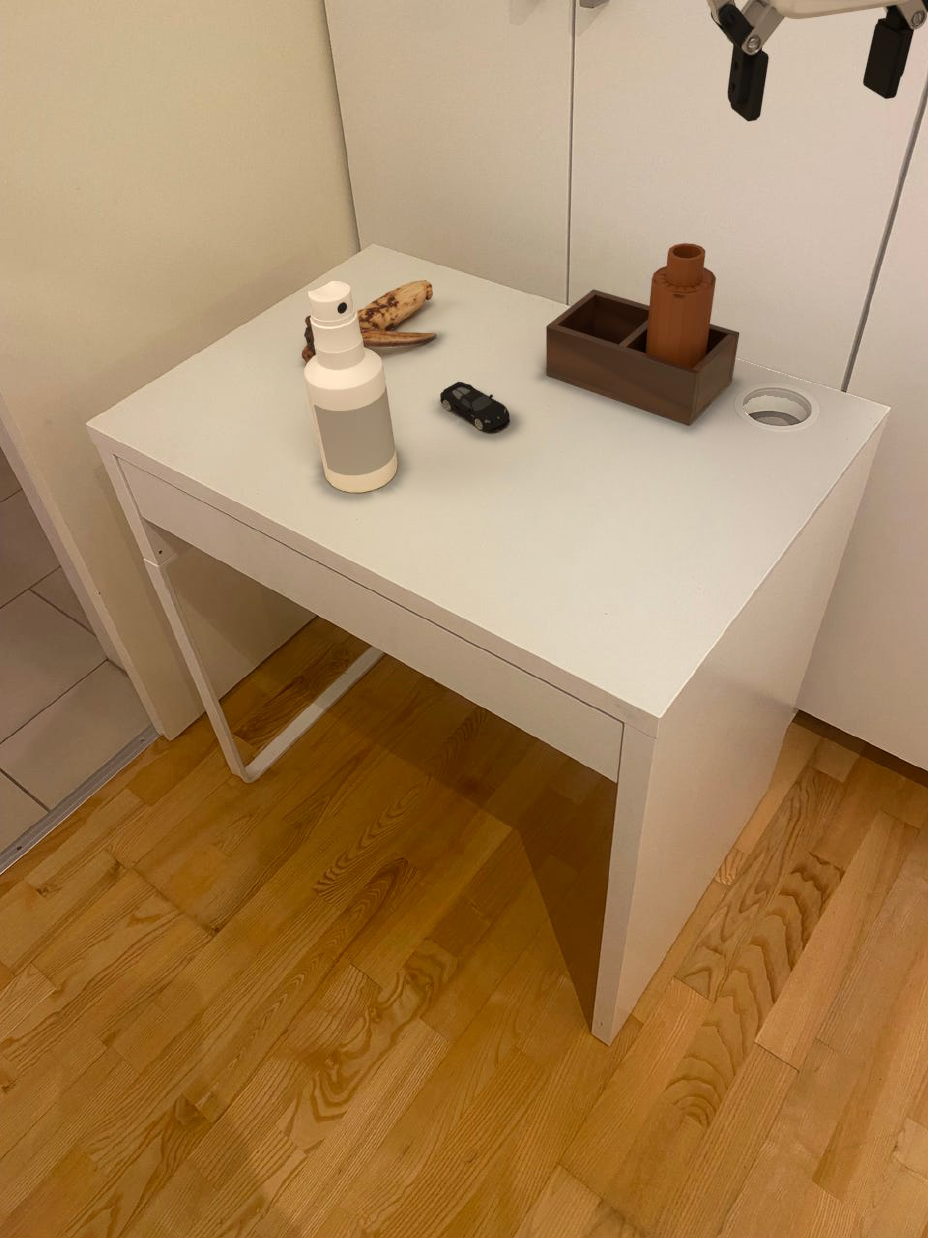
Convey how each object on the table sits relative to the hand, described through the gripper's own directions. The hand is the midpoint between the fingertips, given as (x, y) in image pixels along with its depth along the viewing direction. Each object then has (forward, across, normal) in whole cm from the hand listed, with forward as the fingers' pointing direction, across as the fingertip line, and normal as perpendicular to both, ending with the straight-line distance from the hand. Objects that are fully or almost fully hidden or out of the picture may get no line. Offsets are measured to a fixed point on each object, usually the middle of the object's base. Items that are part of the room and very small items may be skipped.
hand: (811, 102), depth 64 cm
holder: (+30, -4, +16) cm, 35 cm away
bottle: (+30, -2, +13) cm, 32 cm away
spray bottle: (+31, -33, +10) cm, 46 cm away
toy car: (+31, -21, +16) cm, 40 cm away
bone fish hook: (+31, -28, +32) cm, 52 cm away
